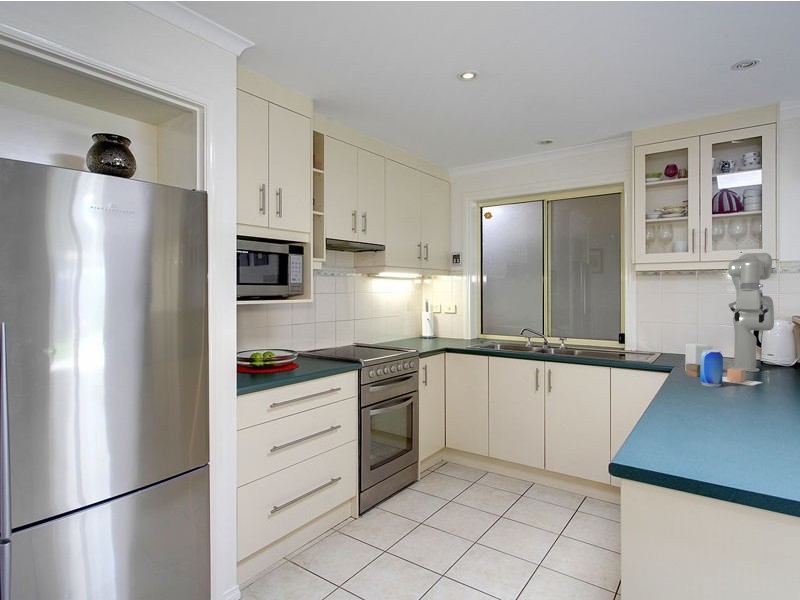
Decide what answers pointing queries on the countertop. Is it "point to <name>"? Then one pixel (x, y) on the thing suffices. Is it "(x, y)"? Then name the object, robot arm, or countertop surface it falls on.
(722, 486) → the countertop surface
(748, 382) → the letter
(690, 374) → the walnut block
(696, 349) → the supplement box
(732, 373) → the terracotta cube
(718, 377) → the beer can
